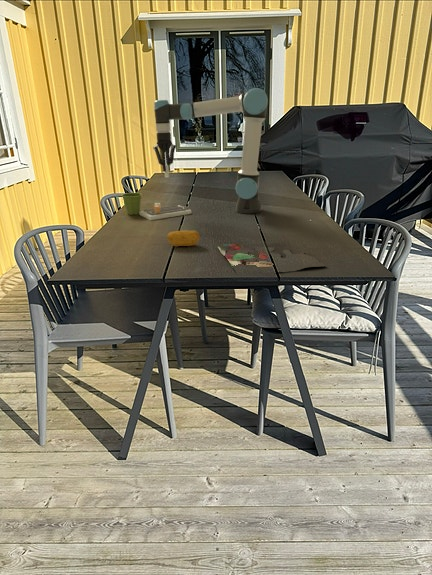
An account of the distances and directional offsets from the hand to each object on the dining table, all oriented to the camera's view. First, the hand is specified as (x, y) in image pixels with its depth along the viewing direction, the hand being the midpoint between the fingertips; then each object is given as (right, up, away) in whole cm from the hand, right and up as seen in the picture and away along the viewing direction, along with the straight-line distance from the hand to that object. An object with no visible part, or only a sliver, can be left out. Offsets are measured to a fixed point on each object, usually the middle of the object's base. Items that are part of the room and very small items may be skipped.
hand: (167, 177), depth 221 cm
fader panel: (-2, -18, +11) cm, 22 cm away
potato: (+13, -43, -43) cm, 62 cm away
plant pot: (-21, -18, +14) cm, 31 cm away
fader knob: (-6, -19, +5) cm, 21 cm away
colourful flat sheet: (+49, -50, -59) cm, 91 cm away
